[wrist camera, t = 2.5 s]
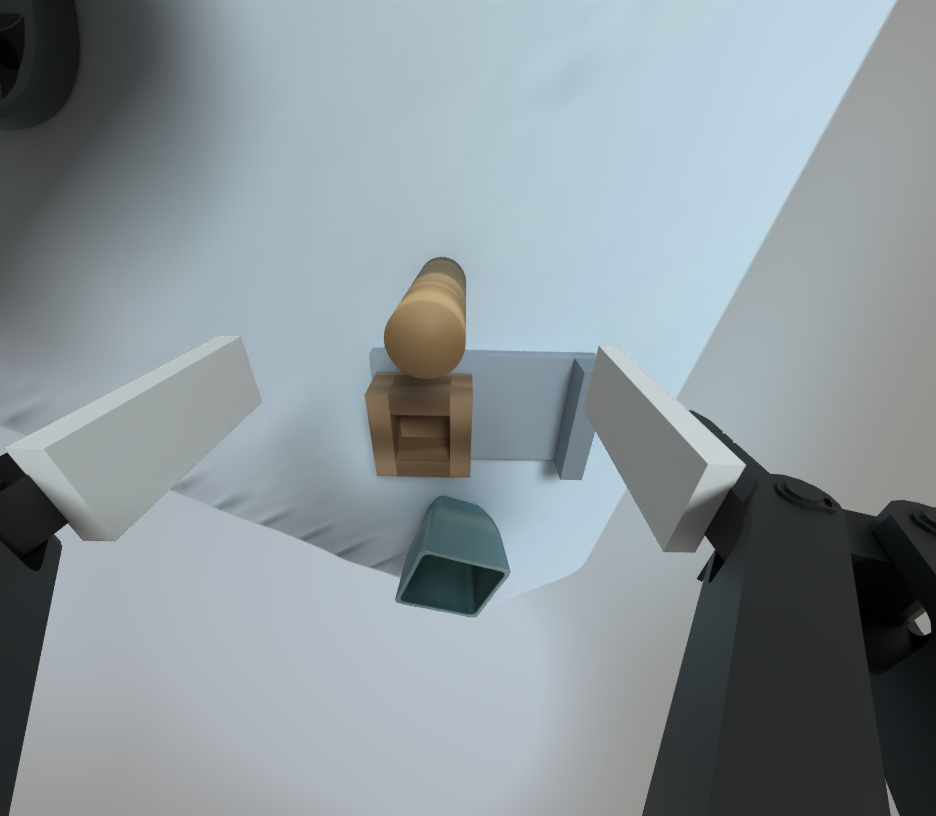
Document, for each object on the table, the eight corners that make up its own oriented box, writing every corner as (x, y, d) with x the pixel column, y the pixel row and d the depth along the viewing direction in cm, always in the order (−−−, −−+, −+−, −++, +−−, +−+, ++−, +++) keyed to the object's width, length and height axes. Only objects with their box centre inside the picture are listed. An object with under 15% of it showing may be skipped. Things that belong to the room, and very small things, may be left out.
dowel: (418, 256, 25) (379, 300, 14) (466, 257, 25) (466, 302, 14) (420, 305, 27) (388, 378, 16) (465, 306, 27) (464, 379, 16)
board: (373, 347, 29) (360, 367, 25) (593, 353, 29) (610, 373, 26) (386, 449, 35) (377, 476, 31) (570, 452, 35) (581, 480, 31)
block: (377, 371, 28) (364, 394, 25) (472, 373, 28) (472, 397, 25) (386, 446, 33) (377, 475, 29) (469, 448, 33) (469, 477, 29)
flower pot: (503, 498, 38) (513, 572, 31) (474, 544, 43) (475, 619, 35) (430, 477, 37) (421, 550, 29) (407, 527, 41) (393, 602, 33)
